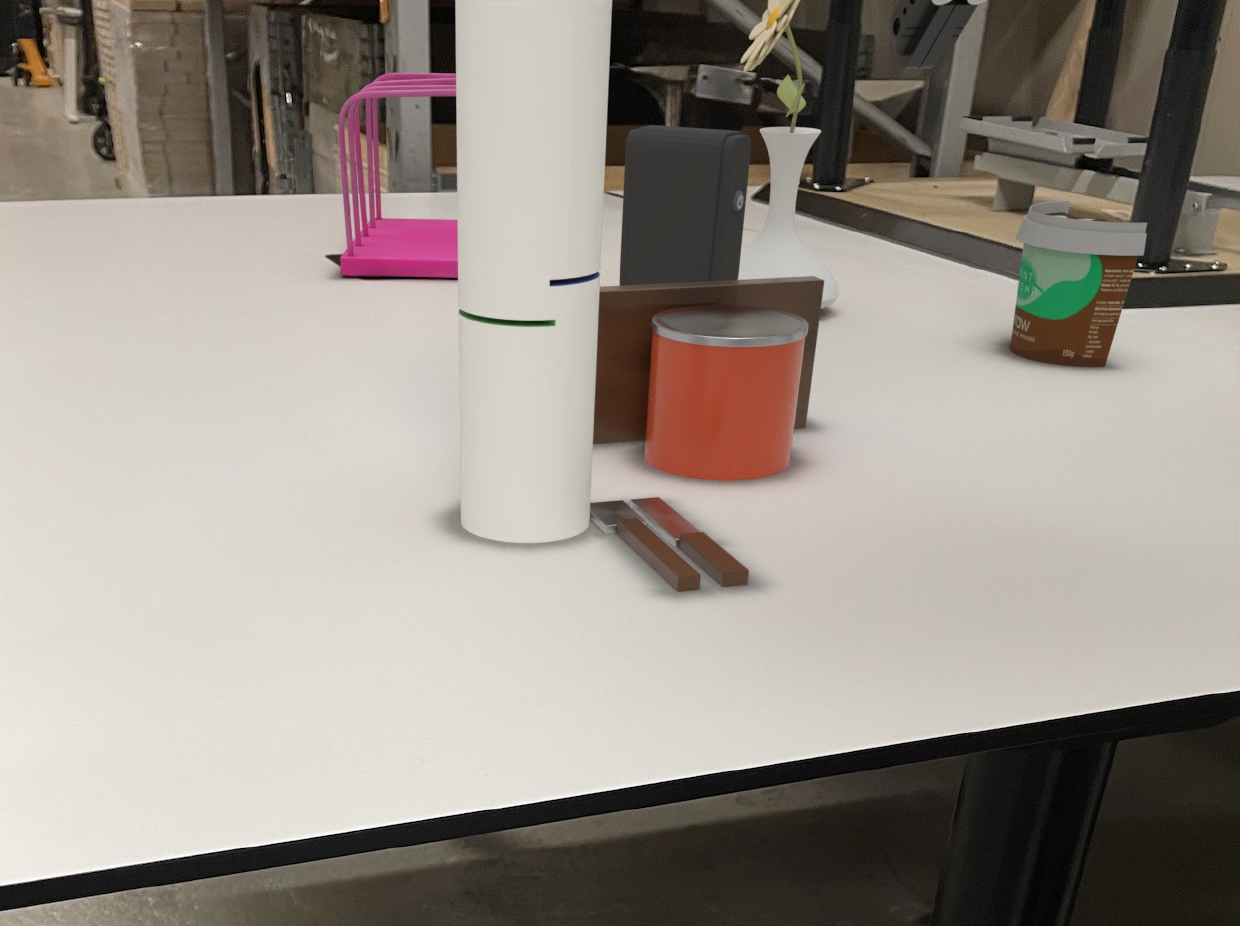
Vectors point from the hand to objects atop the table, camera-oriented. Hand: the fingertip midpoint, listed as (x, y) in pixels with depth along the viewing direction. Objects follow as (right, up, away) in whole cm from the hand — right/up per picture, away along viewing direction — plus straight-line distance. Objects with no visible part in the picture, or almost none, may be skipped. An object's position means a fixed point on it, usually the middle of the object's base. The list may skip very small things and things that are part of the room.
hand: (910, 52), depth 64 cm
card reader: (-5, +9, +49) cm, 50 cm away
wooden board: (-6, -6, +28) cm, 30 cm away
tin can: (-5, -10, +24) cm, 26 cm away
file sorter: (-25, +32, +81) cm, 91 cm away
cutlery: (-10, -19, +11) cm, 24 cm away
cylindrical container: (-17, -17, +14) cm, 28 cm away
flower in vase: (+5, +16, +60) cm, 62 cm away
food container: (+24, +7, +47) cm, 53 cm away
